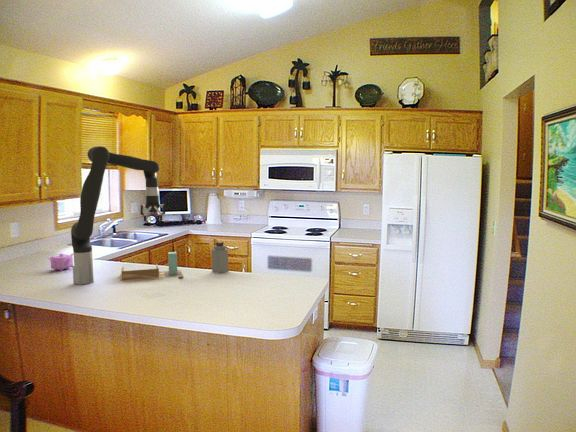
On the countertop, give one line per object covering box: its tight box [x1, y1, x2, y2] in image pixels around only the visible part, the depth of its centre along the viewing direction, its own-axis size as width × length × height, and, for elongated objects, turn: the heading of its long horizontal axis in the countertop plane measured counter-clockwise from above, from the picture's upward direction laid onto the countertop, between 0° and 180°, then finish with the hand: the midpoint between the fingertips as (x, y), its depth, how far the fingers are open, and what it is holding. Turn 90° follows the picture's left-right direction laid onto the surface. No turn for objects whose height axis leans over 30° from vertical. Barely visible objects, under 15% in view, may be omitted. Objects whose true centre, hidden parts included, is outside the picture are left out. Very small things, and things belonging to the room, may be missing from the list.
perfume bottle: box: [211, 241, 229, 274], centre depth 268 cm, size 7×7×18 cm
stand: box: [119, 263, 184, 282], centre depth 255 cm, size 16×34×6 cm, turn 109°
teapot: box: [47, 252, 74, 272], centre depth 274 cm, size 18×13×10 cm
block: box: [167, 251, 178, 274], centre depth 258 cm, size 4×4×12 cm
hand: (153, 221), depth 268 cm, fingers open, 8 cm apart
